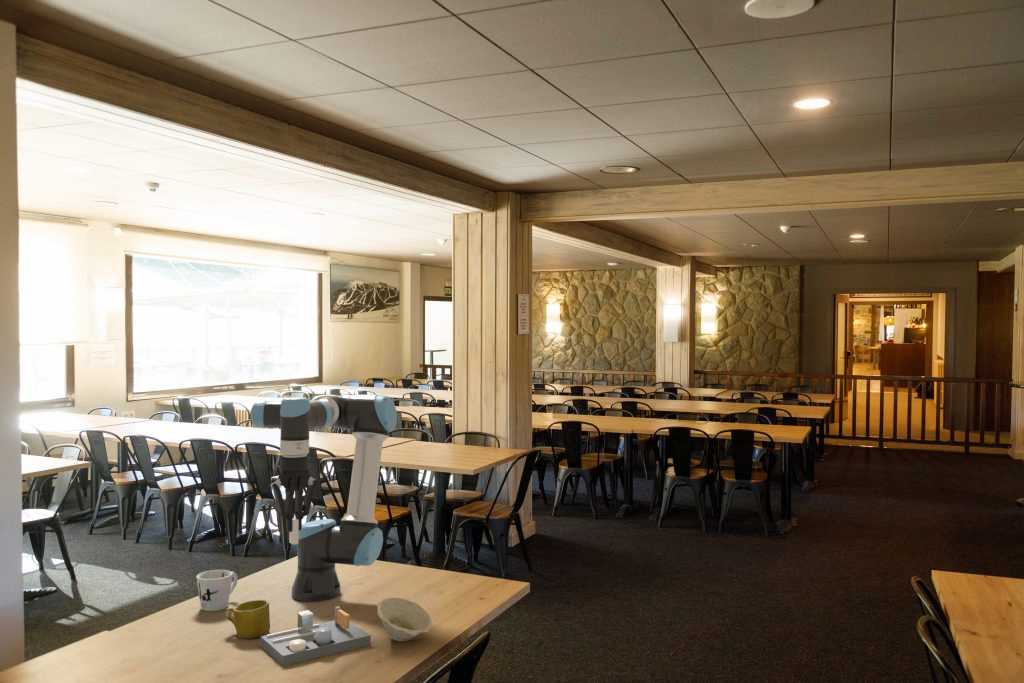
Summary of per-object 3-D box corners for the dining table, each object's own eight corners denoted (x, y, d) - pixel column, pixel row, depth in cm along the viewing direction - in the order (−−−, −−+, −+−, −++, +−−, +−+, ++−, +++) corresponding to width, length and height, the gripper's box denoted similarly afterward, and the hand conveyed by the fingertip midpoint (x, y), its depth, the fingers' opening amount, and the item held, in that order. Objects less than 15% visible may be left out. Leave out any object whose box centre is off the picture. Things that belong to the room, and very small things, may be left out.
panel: (260, 645, 209) (260, 634, 209) (344, 627, 223) (344, 616, 223) (282, 666, 196) (282, 653, 196) (370, 644, 210) (370, 633, 210)
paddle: (334, 624, 218) (334, 607, 218) (338, 623, 218) (339, 606, 218) (345, 632, 212) (345, 614, 212) (349, 631, 213) (350, 613, 213)
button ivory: (287, 654, 202) (287, 641, 202) (302, 651, 204) (302, 638, 204) (293, 659, 198) (293, 646, 199) (308, 656, 201) (308, 643, 201)
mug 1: (188, 610, 236) (188, 576, 236) (223, 595, 249) (224, 564, 249) (215, 615, 232) (215, 581, 232) (250, 600, 245) (250, 568, 246)
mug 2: (284, 622, 221) (271, 591, 219) (262, 646, 212) (248, 614, 210) (249, 624, 226) (237, 594, 224) (227, 647, 217) (213, 616, 214)
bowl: (406, 654, 204) (406, 615, 204) (365, 643, 211) (366, 605, 211) (441, 636, 217) (441, 599, 217) (402, 626, 224) (402, 591, 224)
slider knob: (297, 631, 212) (297, 612, 212) (308, 629, 214) (308, 610, 214) (301, 635, 210) (301, 615, 210) (313, 632, 212) (313, 613, 212)
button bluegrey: (313, 642, 206) (313, 629, 206) (327, 638, 208) (327, 626, 208) (319, 646, 203) (319, 634, 203) (334, 643, 205) (334, 630, 205)
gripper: (275, 458, 205) (274, 549, 205) (323, 455, 213) (322, 542, 213) (265, 455, 211) (264, 543, 211) (312, 451, 219) (311, 537, 219)
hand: (293, 543), depth 212 cm, fingers closed
